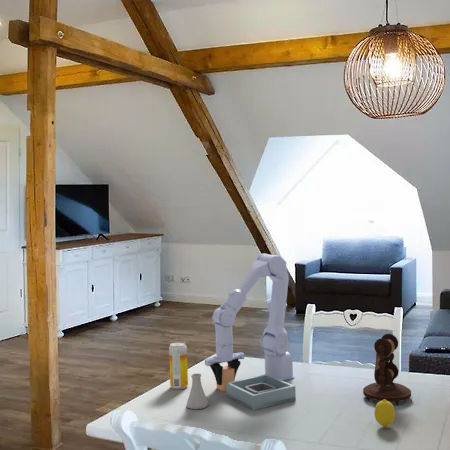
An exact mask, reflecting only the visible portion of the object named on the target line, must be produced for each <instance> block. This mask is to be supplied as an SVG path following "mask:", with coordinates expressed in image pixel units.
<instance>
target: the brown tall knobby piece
mask: <svg viewBox="0 0 450 450" xmlns="http://www.w3.org/2000/svg"><path fill="white" fill-rule="evenodd" d="M373 345H374V346H373V347H374V348H373V349H374V350H375V353H376V354H375V357H376V358H375V365H374V373H373V375H374V376H373V377H374V381H375V382H372V383H369V384H368V385H365V386H364V387H363V389H362V394H363V396H364V397H365V399H366V401H367V402H368V401H369V400H374V401H378V402H380V401H382V400H384V399H385V400H386V401H389V402H390V403H392V402H393V403H394V402H395V404H396V406H399V404H400V402H402V401H406V400H408V399H410V398H411V397H412V390H411V389H410V388H409V387H407V386H406V385H404V384H401V383H399V382H398V383H396V382H394V381H395V379H396V378H398V376H399V371H400V370H399V369H398V365H396V364H395V363H394V359H395V353H394V352H395V351H396V350H397V349H398V346H399V340H398V338H397V336H395V335H394V334H392V333H386V334H383V335H382V337H381V338H378V339H377V340H375V342H374V344H373Z"/></svg>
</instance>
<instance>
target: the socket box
mask: <svg viewBox="0 0 450 450" xmlns="http://www.w3.org/2000/svg"><path fill="white" fill-rule="evenodd" d="M225 392H226V397H227V398H229V399H231V400H233V401H234V402H237V403H238V402H239V404H240V403H241V405H242V404H243V405H242V406H244V405H245V407H246V406H247V407H246V408H248V407H249V408H248V409H250V408H251V409H250V410H252V409H253V410H252V411H256V410H261V409H265V408H268V407H272V406H277V405H280V404H285V403H288V402H292V401H293V402H294V401H296V398H297V397H296V395H297V394H296V385H293V384H291V383H289V382H288V381H287V382H286V380H280V379H277V378H275V377H272V376H270V375H268V374H265V373H264V374H259V375H255V376H252V377H247V378H243V379H238V380H235V381H233V382H228V383H226V391H225Z"/></svg>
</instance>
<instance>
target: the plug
mask: <svg viewBox="0 0 450 450" xmlns="http://www.w3.org/2000/svg"><path fill="white" fill-rule="evenodd" d="M222 366H223V369H222V385H218V384H217V383H216V389H218V390H219V391H220V392H223V393H225V392H226V383H228V382H233V381H236V376H235V375H234V368H231V367H229V366H228V365H222Z"/></svg>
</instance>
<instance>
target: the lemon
mask: <svg viewBox="0 0 450 450" xmlns="http://www.w3.org/2000/svg"><path fill="white" fill-rule="evenodd" d="M395 417H396V411H395V406H394V405H393V403H392V402H389V401H386V400H385V399H384V400H382V401H378V402H377V403H376V404H375V408H374V418H375V421H376V422H377V424H379V425H381V426H382V427H383V428H387V427H389V426H391V425H392V424H393V423H394V421H395V419H396V418H395Z"/></svg>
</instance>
